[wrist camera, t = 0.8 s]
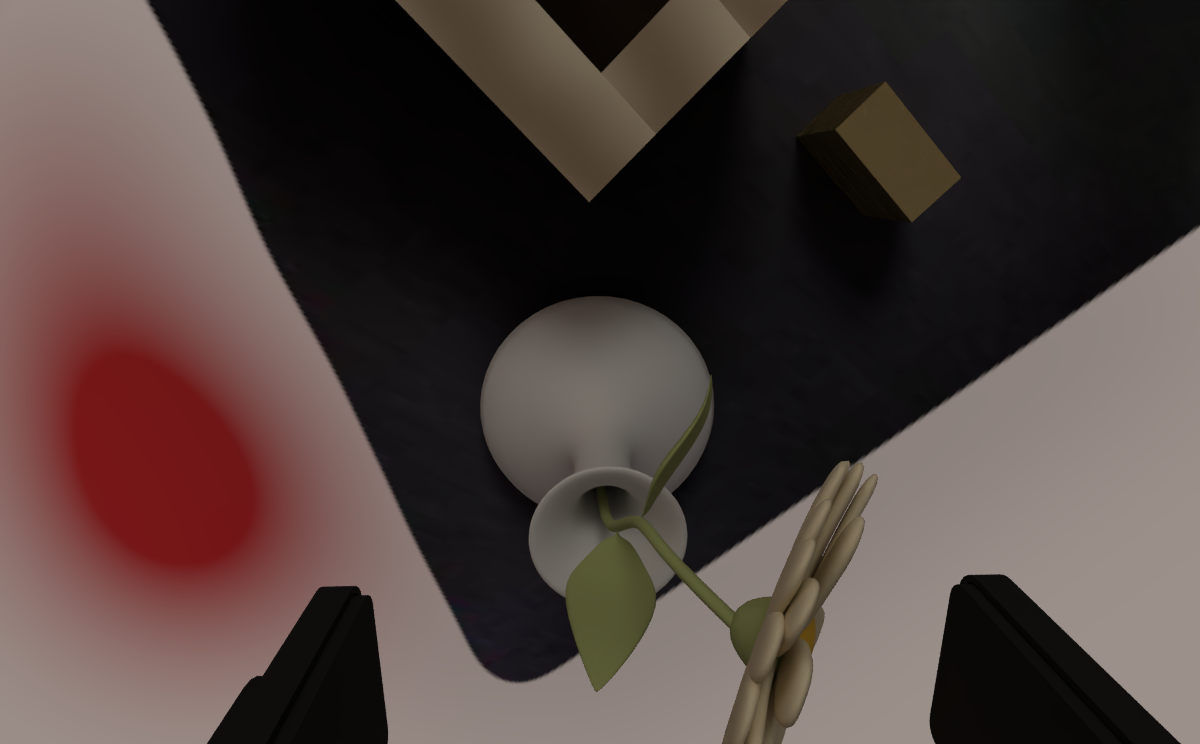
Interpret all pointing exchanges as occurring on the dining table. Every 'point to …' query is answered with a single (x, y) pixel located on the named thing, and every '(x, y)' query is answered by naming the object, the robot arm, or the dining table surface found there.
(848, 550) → the flower in vase
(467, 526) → the dining table surface
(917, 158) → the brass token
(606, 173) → the box
